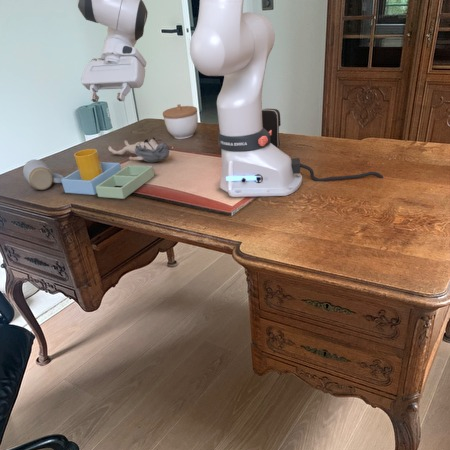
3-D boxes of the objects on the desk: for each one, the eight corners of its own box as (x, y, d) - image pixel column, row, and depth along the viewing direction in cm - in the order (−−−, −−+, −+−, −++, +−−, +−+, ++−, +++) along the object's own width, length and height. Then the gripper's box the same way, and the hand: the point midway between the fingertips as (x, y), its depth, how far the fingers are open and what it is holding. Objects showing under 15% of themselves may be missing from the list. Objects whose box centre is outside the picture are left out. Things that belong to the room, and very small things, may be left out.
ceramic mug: (33, 194, 131) (24, 169, 127) (28, 186, 137) (19, 162, 132) (68, 184, 135) (61, 160, 131) (61, 177, 141) (54, 154, 137)
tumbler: (109, 178, 134) (101, 149, 129) (96, 187, 129) (87, 156, 124) (91, 177, 136) (83, 148, 131) (78, 186, 132) (69, 156, 126)
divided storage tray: (154, 175, 133) (152, 166, 132) (124, 198, 121) (121, 188, 119) (130, 174, 136) (128, 165, 135) (98, 196, 124) (95, 186, 122)
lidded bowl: (205, 131, 167) (202, 100, 161) (190, 141, 158) (185, 109, 152) (177, 130, 172) (172, 100, 165) (160, 140, 163) (155, 109, 156)
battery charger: (282, 144, 145) (281, 107, 138) (277, 148, 142) (276, 111, 135) (263, 143, 148) (262, 107, 141) (258, 146, 145) (256, 110, 139)
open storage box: (123, 175, 136) (119, 162, 134) (94, 194, 126) (90, 181, 123) (94, 174, 140) (91, 161, 138) (65, 192, 130) (60, 179, 127)
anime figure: (127, 134, 157) (175, 134, 136) (133, 155, 161) (181, 158, 140) (103, 142, 153) (150, 143, 131) (110, 163, 156) (156, 167, 135)
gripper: (82, 52, 132) (72, 95, 130) (140, 47, 124) (129, 93, 123) (95, 66, 137) (85, 107, 136) (151, 62, 130) (141, 105, 129)
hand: (107, 100), depth 129 cm, fingers open, 8 cm apart
